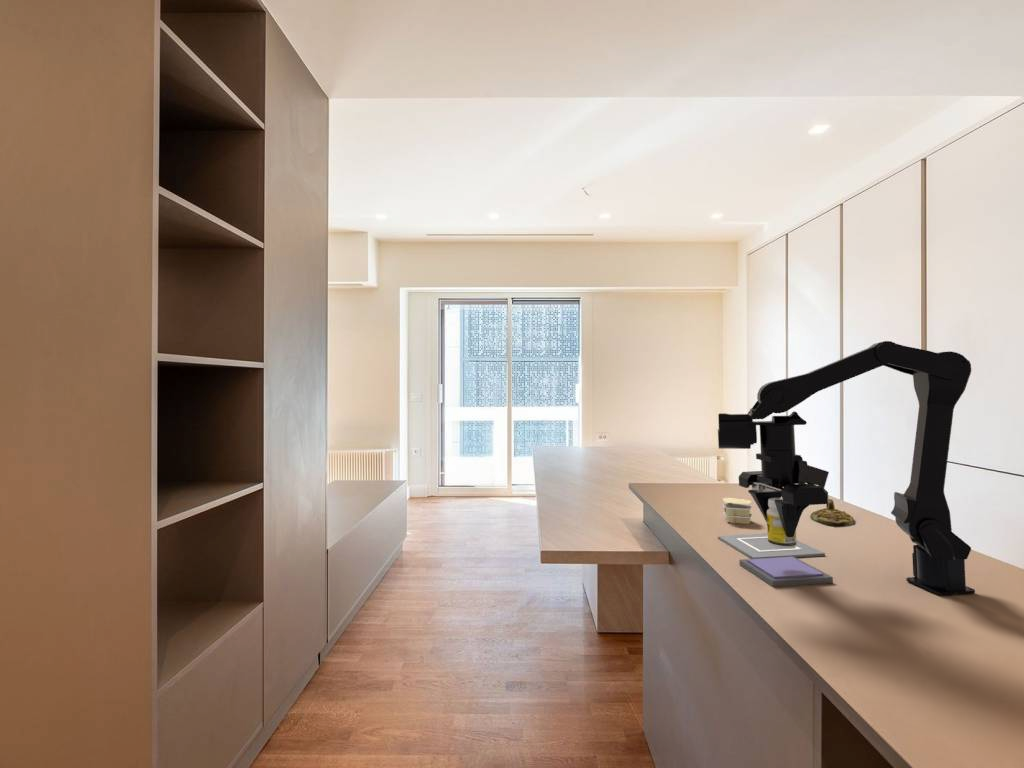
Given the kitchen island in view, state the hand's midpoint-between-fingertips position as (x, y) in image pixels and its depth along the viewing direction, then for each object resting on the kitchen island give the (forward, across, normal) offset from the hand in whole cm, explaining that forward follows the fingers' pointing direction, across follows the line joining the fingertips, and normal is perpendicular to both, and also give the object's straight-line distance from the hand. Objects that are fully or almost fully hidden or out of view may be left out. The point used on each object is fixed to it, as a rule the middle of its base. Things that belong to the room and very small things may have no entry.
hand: (781, 533), depth 92 cm
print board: (+7, +15, -6) cm, 18 cm away
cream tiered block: (+8, +36, -10) cm, 38 cm away
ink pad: (+8, 0, 0) cm, 8 cm away
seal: (+8, +32, -34) cm, 47 cm away
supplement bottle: (+2, 0, 0) cm, 2 cm away
